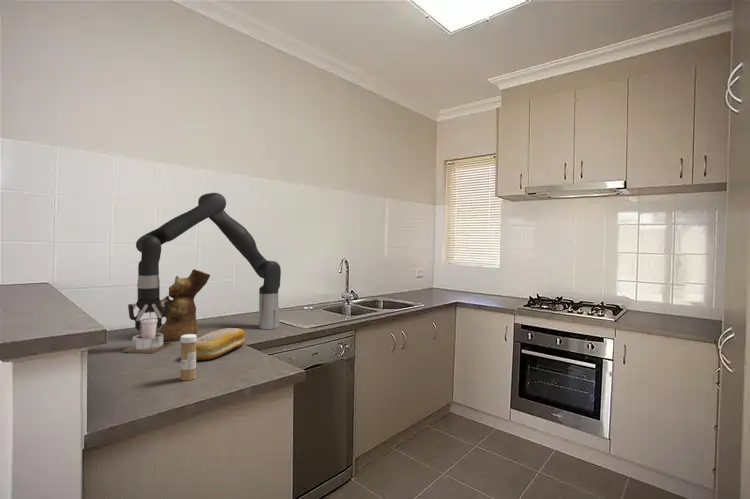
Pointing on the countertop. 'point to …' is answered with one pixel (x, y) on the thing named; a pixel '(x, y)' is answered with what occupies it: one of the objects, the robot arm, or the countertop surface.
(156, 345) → the duct collar
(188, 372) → the sprinkles bottle
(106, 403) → the countertop surface
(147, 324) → the smoothie
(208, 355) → the bread
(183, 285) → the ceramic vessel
